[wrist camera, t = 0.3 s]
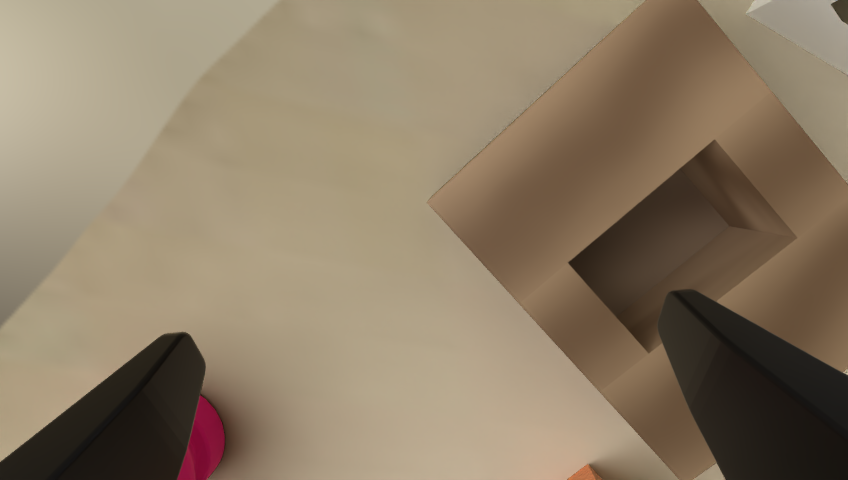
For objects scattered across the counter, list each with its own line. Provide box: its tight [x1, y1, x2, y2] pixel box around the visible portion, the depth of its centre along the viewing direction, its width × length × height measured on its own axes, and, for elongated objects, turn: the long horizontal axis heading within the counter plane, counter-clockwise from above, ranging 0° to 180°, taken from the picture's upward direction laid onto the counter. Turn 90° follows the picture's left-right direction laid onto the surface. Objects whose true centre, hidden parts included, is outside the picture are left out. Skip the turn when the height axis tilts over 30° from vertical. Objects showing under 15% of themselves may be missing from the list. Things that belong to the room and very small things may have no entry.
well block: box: [427, 0, 848, 480], centre depth 19 cm, size 16×12×5 cm
